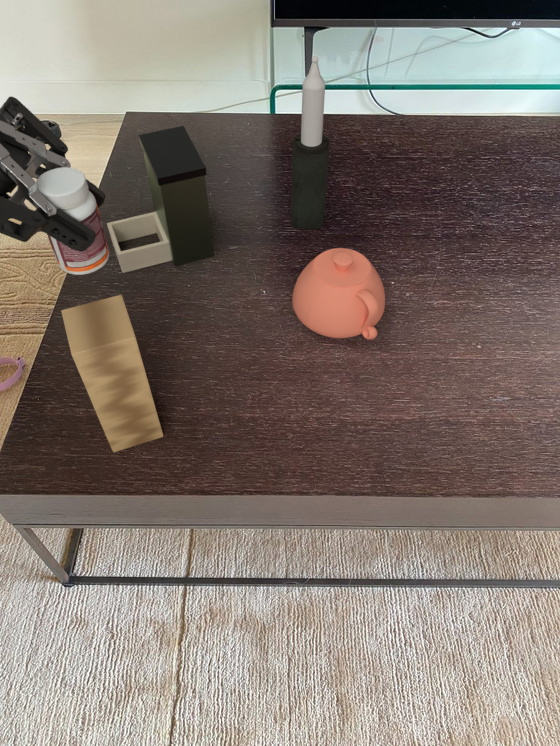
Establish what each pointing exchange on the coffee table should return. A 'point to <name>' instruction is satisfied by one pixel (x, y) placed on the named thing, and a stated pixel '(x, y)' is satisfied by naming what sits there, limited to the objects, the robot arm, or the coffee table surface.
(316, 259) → the sugar bowl
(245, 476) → the coffee table surface
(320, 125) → the candle
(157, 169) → the dispenser
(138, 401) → the stand
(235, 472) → the coffee table surface
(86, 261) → the pill bottle
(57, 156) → the robot arm
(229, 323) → the coffee table surface
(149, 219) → the dock
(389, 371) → the coffee table surface
